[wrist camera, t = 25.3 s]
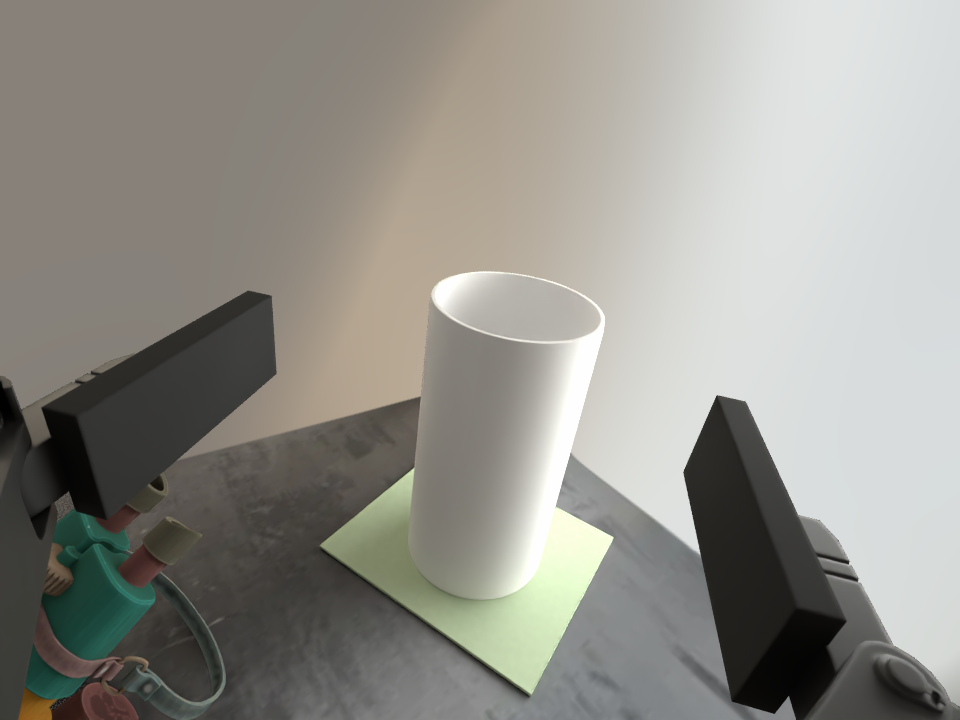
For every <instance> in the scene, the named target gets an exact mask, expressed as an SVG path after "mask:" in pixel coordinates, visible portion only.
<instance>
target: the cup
mask: <svg viewBox="0 0 960 720" xmlns="http://www.w3.org/2000/svg"><path fill="white" fill-rule="evenodd" d="M604 323H605V317H604V315H603V313H602V311H601V309H600V308H599V307H598V306H597V305H596V304H595V303H594V302H592V301H591V300H590V299H589V298H587V297H585V296H584V295H582V294H580V293H578V292H577V291H575V290H572V289H570V288H568V287H565V286H563V285H560V284H558V283H554V282H551V281H548V280H544V279H541V278H537V277H532V276H527V275H521V274H515V273H506V272H470V273H463V274H458V275H454V276H451V277H448V278H445V279H443V280H442V281H440V282H438V283H437V284H436V285H435V286H434V288H433V290H432V293H431V297H430V305H429V315H428V326H427V336H426V337H427V338H426V347H425V358H424V370H423V380H422V391H421V402H420V412H419V423H418V434H417V445H416V456H415V467H414V478H413V489H412V500H411V511H410V522H409V533H408V546H409V552H410V555H411V558H412V560H413V562H414V564H415V566H416V567H417V569H418V570H419V572H420V573H421V574H422V575H423V576H424V577H425V578H426V579H427V580H428V581H429V582H430V583H432V584H433V585H434V586H436V587H437V588H439V589H441V590H443V591H445V592H447V593H449V594H451V595H454V596H457V597H461V598H465V599H472V600H490V599H497V598H501V597H504V596H508V595H510V594H512V593H514V592H516V591H518V590H519V589H521V588H522V587H523V586H525V585H526V584H527V583H528V582H529V581H530V580H531V578H532V577H533V576H534V574H535V572H536V570H537V568H538V566H539V563H540V559H541V556H542V552H543V548H544V545H545V541H546V538H547V534H548V530H549V527H550V523H551V519H552V516H553V512H554V509H555V505H556V501H557V498H558V494H559V490H560V487H561V483H562V480H563V476H564V472H565V469H566V465H567V462H568V458H569V454H570V451H571V447H572V443H573V439H574V436H575V433H576V429H577V425H578V422H579V418H580V415H581V411H582V407H583V404H584V400H585V396H586V392H587V389H588V386H589V382H590V378H591V375H592V371H593V367H594V364H595V360H596V356H597V353H598V349H599V346H600V342H601V338H602V334H603V330H604Z"/></svg>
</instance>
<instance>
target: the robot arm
mask: <svg viewBox="0 0 960 720" xmlns="http://www.w3.org/2000/svg"><path fill="white" fill-rule="evenodd" d="M274 375H276V358H275V343H274V327H273V311H272V296H270V295H266V294H261V293H256V292H252V291H247V292H245V293H243V294H241V295H240V296H238V297H236V298H234V299H233V300H231V301H229V302H227V303H226V304H224V305H222V306H220V307H218V308H217V309H215V310H213V311H211V312H210V313H208V314H206V315H204V316H202V317H201V318H199V319H197V320H196V321H193V322H192V323H190V324H188V325H186V326H185V327H183V328H181V329H179V330H177V331H176V332H174V333H172V334H170V335H169V336H167V337H165V338H163V339H162V340H160V341H158V342H156V343H154V344H153V345H151V346H149V347H148V348H146V349H144V350H142V351H140V352H139V353H137V354H131V355H128V356H124V357H121V358H118V359H115V360H112V361H109V362H107V363H105V364H104V365H102V366H100V367H98V368H96V369H95V370H93V371H91V374H88V373H87V374H85V375H83V376H82V377H80V378H78V379H76V380H75V382H74V383H73V382H71V383H69V384H67V385H66V386H63V387H62V388H60V389H58V390H56V391H54V392H52V393H51V394H49V395H47V396H45V397H43V398H42V399H40V400H38V401H36V402H34V403H33V404H31V405H29V406H27V407H25V408H23V409H21V408H20V405H19V402H18V400H17V397H16V394H15V391H14V389H13V386H12V383H11V381H10V380H9V379H7V378H5V377H4V376H0V720H18V719H19V714H20V709H21V704H22V698H23V693H24V688H25V683H26V678H27V672H28V667H29V662H30V657H31V651H32V646H33V641H34V636H35V631H36V625H37V620H38V615H39V610H40V604H41V599H42V594H43V589H44V584H45V578H46V573H47V568H48V563H49V558H50V552H51V547H52V542H53V537H54V531H55V526H56V521H57V516H58V514H57V508H56V505H55V503H54V502H55V501H56V500H58V499H59V498H60V497H62V496H63V495H64V494H66V493H67V492H68V491H69V493H70V495H71V498H72V501H73V504H74V507H75V510H76V512H79V513H83V514H86V515H90V516H93V517H97V518H100V519H104V520H108V519H109V518H111V517H112V516H113V515H114V514H115V513H116V512H117V511H119V510H120V509H121V508H122V507H123V506H124V505H126V504H127V503H128V502H129V501H130V500H131V499H132V498H134V497H135V496H136V495H137V494H138V493H139V492H141V491H142V490H143V489H144V488H145V487H146V486H147V485H149V484H150V483H151V482H152V481H153V480H154V479H156V478H157V477H158V476H159V475H160V474H161V473H162V472H164V471H165V470H166V469H167V468H168V467H169V466H171V465H172V464H173V463H174V462H175V461H176V460H177V459H179V458H180V457H181V456H182V455H183V454H184V453H186V452H187V451H188V450H189V449H190V448H191V447H192V446H193V445H195V444H196V443H197V442H198V441H199V440H200V439H201V438H203V437H204V436H205V435H206V434H207V433H209V432H210V431H211V430H212V429H213V428H214V427H215V426H217V425H218V424H219V423H220V422H221V421H222V420H223V419H225V418H226V417H227V416H228V415H229V414H231V413H232V412H233V411H234V410H235V409H236V408H237V407H239V406H240V405H241V404H242V403H243V402H244V401H246V400H247V399H248V398H249V397H250V396H251V395H252V394H254V393H255V392H256V391H257V390H258V389H259V388H261V387H262V385H264V384H265V383H266V382H267V381H269V380H270V379H271V378H272V377H273V376H274ZM683 473H684V477H685V482H686V487H687V491H688V497H689V501H690V506H691V511H692V515H693V520H694V525H695V529H696V534H697V539H698V544H699V549H700V553H701V558H702V563H703V567H704V572H705V577H706V582H707V586H708V591H709V596H710V600H711V605H712V610H713V615H714V619H715V624H716V629H717V633H718V638H719V643H720V648H721V652H722V657H723V662H724V667H725V671H726V676H727V681H728V685H729V690H730V695H731V700H732V702H735V703H739V704H742V705H746V706H749V707H753V708H756V709H760V710H763V711H766V712H770V713H773V714H775V713H776V711H777V710H778V709H779V708H780V706H781V705H782V704H783V702H784V701H785V700H786V699H787V697H788V696H789V698H790V701H791V704H792V707H793V711H794V714H795V717H796V720H960V707H959V706H957V705H956V704H954V703H952V702H951V701H950V699H949V697H948V695H947V693H946V690H945V689H944V687H943V686H942V685H941V684H940V682H939V681H938V680H937V679H936V677H934V675H933V674H932V673H931V672H930V671H929V670H928V669H927V668H925V667H924V666H923V665H922V664H921V663H920V662H919V661H918V660H916V659H915V658H914V657H912V656H911V655H909V654H907V653H906V652H904V651H902V650H901V649H899V648H897V647H895V646H894V645H893V643H892V641H891V640H890V638H889V636H888V634H887V632H886V630H885V628H884V626H883V624H882V622H881V620H880V619H879V617H878V615H877V613H876V611H875V609H874V607H873V605H872V603H871V601H870V600H869V598H868V596H867V594H866V592H865V590H864V588H863V586H862V584H861V583H858V577H857V575H856V573H855V571H854V569H853V567H852V566H851V565H849V560H848V558H847V556H846V554H845V552H844V550H843V549H842V546H841V544H840V543H839V540H838V539H837V538H836V537H835V536H834V535H833V534H832V533H831V532H830V531H829V530H828V529H827V528H826V527H825V526H824V525H823V524H822V523H821V522H820V520H816V519H812V518H808V517H804V516H800V515H798V514H797V512H796V510H795V507H794V505H793V503H792V501H791V499H790V497H789V494H788V492H787V490H786V488H785V486H784V483H783V481H782V479H781V477H780V475H779V473H778V470H777V468H776V466H775V464H774V462H773V460H772V457H771V455H770V453H769V451H768V449H767V447H766V444H765V442H764V440H763V438H762V436H761V434H760V432H759V429H758V427H757V425H756V423H755V421H754V418H753V416H752V414H751V412H750V410H749V408H748V406H747V403H746V402H745V401H741V400H736V399H731V398H727V397H722V396H718V395H717V396H716V398H715V401H714V403H713V405H712V407H711V410H710V412H709V414H708V417H707V419H706V421H705V423H704V426H703V428H702V430H701V433H700V435H699V437H698V439H697V442H696V444H695V446H694V449H693V451H692V453H691V456H690V458H689V460H688V463H687V465H686V467H685V469H684V472H683Z"/></svg>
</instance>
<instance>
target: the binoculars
mask: <svg viewBox="0 0 960 720" xmlns="http://www.w3.org/2000/svg"><path fill="white" fill-rule="evenodd" d="M167 494H168V484H167V480H166V477H165V475H164V473H163V472H162V473H161V474H160V475H159V476H158V477H157V478H156V479H154V480H153V481H152V482H151V483H150V484H149V485H147V486H146V487H145V488H144V489H143V490H142V491H141V492H139V493H138V494H137V495H136V496H135V497H134V498H132V499H131V500H130V501H129V502H128V503H127V504H126V505H124V506H123V507H122V508H121V509H120V510H119V511H117V512H116V513H115V514H114V515H113V516H112V517H111V518H109V519H108V520H104V519H100V518H97V517H93V516H90V515H86V514H83V513H79V512H76V510H75V508H74V509H73V510H72V511H70V512H69V513H68V514H67V515H66V516H64V517H63V518H62V519H61V520H59V521H58V522H57V523H56V526H55V531H54V537H53V542H52V547H51V552H50V558H49V563H48V568H47V573H46V578H45V584H44V589H43V594H42V599H41V604H40V610H39V615H38V620H37V625H36V631H35V636H34V641H33V646H32V651H31V657H30V662H29V667H28V672H27V678H26V683H25V688H24V693H23V698H22V704H21V709H20V714H19V719H18V720H139V719H138V716H137V713H136V711H135V709H134V708H133V706H132V704H131V703H130V702H129V701H128V699H127V698H126V697H125V696H124V695H123V694H122V693H123V692H124V691H125V690H126V691H129V692H136V693H137V694H139V695H140V696H141V698H142V699H143V700H144V701H146V700H148V701H149V702H150V703H151V704H152V705H153V706H155V707H156V708H157V709H158V710H160V711H161V712H162V713H164V714H165V715H167V716H169V717H171V718H174V719H176V720H191V719H194V718H197V717H198V716H200V715H201V714H202V713H204V712H205V711H206V710H207V709H208V708H209V707H210V705H211V704H212V703H213V702H214V701H215V700H216V699H217V698H218V697H219V695H220V694H221V693H222V691H223V689H224V686H225V684H226V672H225V667H224V663H223V660H222V657H221V654H220V651H219V648H218V646H217V643H216V641H215V639H214V637H213V635H212V633H211V631H210V629H209V628H208V626H207V624H206V623H205V621H204V620H203V618H202V617H201V615H200V614H199V612H198V611H197V610H196V608H195V607H194V606H193V604H192V603H191V602H190V600H189V599H188V598H187V597H186V596H185V594H184V593H183V592H182V591H181V590H180V589H179V588H178V587H177V586H176V585H175V584H174V583H173V582H172V581H171V580H170V579H169V578H168V577H167V576H165V575H164V574H163V573H162V572H161V570H162V569H163V568H164V567H165V566H167V565H168V564H169V565H173V564H175V563H176V562H177V561H178V560H179V559H180V558H181V557H182V556H183V555H184V554H185V553H186V552H187V551H188V550H189V549H190V548H191V547H192V546H193V545H194V544H195V543H197V542H198V541H199V540H200V539H201V538H202V537H203V535H202V534H200V533H199V532H196V531H194V530H191V529H188V528H187V527H186V526H185V525H183V524H182V523H181V522H179V521H178V520H176V519H174V518H172V517H165V518H164V519H163V520H162V521H161V522H160V523H159V524H158V525H157V526H156V527H155V528H154V529H153V530H151V531H150V532H149V533H148V534H147V535H146V536H145V537H144V538H143V543H144V544H143V545H142V546H141V547H139V548H138V549H137V550H136V551H135V552H134V553H133V552H131V551H129V550H128V549H129V547H130V542H129V539H128V537H127V535H126V532H125V530H124V528H125V527H126V526H127V525H128V524H129V523H131V522H132V521H133V520H134V519H135V518H136V517H137V516H138V515H139V514H140V513H147V512H149V511H150V510H151V509H152V508H153V507H154V506H155V505H156V504H157V503H158V502H159V501H161V500H162V499H163V498H164V497H165V496H166V495H167ZM152 586H154V587H155V588H156V589H157V590H158V591H160V592H161V593H162V594H163V595H164V596H165V597H166V598H167V600H168V601H169V602H170V603H171V604H172V605H173V606H174V608H175V609H176V610H177V611H178V613H179V614H180V615H181V617H182V618H183V620H184V621H185V622H186V624H187V625H188V627H189V628H190V630H191V631H192V633H193V635H194V637H195V638H196V640H197V642H198V644H199V646H200V648H201V650H202V652H203V655H204V658H205V660H206V663H207V667H208V670H209V675H210V679H211V695H210V697H209V699H208V700H205V701H202V702H191V701H188V700H186V699H184V698H182V697H180V696H179V695H177V694H176V693H175V692H173V691H172V690H171V689H170V688H169V687H167V686H166V685H165V684H164V682H163V681H162V680H161V679H160V678H159V677H158V676H157V675H156V674H155V673H153V672H152V671H151V670H150V669H148V668H147V667H148V661H146V660H145V659H144V658H141V657H137V656H127V657H124V658H122V659H121V658H118V657H110V658H106V657H107V655H108V654H109V653H110V652H111V651H112V650H113V649H114V648H115V646H116V645H117V644H118V643H119V642H120V641H121V640H122V639H123V637H124V636H125V635H126V634H127V633H128V632H129V631H130V630H131V628H132V627H133V626H134V625H135V624H136V623H137V622H138V621H139V619H140V618H141V617H142V616H143V615H144V614H145V613H146V612H147V610H148V609H149V608H150V607H151V606H152V605H153V604H154V602H155V599H156V597H155V591H154V589H153V587H152ZM125 661H136V662H140V663H142V664H143V666H142V665H137V666H136V667H135V668H134V669H133V670H132V671H131V672H130V673H129V674H128V675H127V676H126V677H125V678H124V679H123V680H122V681H121V685H122V688H121V689H120V690H119V691H118V690H116V689H115V688H113V687H111V686H109V685H108V684H107V683H106V680H107V681H111V680H112V679H113V677H114V676H115V675H116V674H117V673H118V672H119V671H120V670H121V669H122V668H123V667H124V665H125V664H124V662H125ZM91 675H92V678H93V679H94V678H98V677H102V679H101V681H100V683H91V684H88V685H87V686H86V687H84V688H83V689H81V690H80V691H79V692H77V693H76V694H75V695H73V696H72V697H71V698H69V699H68V700H66V701H65V702H64V703H62V704H61V705H60V706H58V707H57V708H55V709H54V710H53V711H51V709H50V706H51V705H52V704H53V703H54V702H55V701H56V700H57V699H60V698H64V697H68V696H71V695H72V694H74V693H75V692H76V690H77V689H78V688H79V687H80V686H81V685H82V684H83V683H84V681H85V680H86V679H87V678H88V677H89V676H91Z"/></svg>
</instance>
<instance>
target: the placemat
mask: <svg viewBox="0 0 960 720" xmlns="http://www.w3.org/2000/svg"><path fill="white" fill-rule="evenodd" d="M413 478H414V468H413V469H412V470H411V471H410V472H408V473H407V474H406V475H405V476H404V477H402V478H401V479H400V480H399V481H397V482H396V483H395V484H394V485H393V486H391V487H390V488H389V489H388V490H387V491H385V492H384V493H383V494H382V495H380V496H379V497H378V498H377V499H376V500H374V501H373V502H372V503H371V504H369V505H368V506H367V507H366V508H365V509H363V510H362V511H361V512H360V513H358V514H357V515H356V516H355V517H354V518H352V519H351V520H350V521H349V522H348V523H346V524H345V525H344V526H343V527H341V528H340V529H339V530H338V531H337V532H335V533H334V534H333V535H332V536H330V537H329V538H328V539H327V540H326V541H324V542H323V543H322V544H321V545H320V548H321V549H323V550H324V551H325V552H327V553H328V554H330V555H331V556H332V557H334V558H335V559H337V560H338V561H339V562H341V563H342V564H344V565H345V566H347V567H348V568H349V569H351V570H352V571H354V572H355V573H356V574H358V575H359V576H361V577H362V578H364V579H365V580H366V581H368V582H369V583H371V584H372V585H373V586H375V587H376V588H378V589H379V590H380V591H382V592H383V593H385V594H386V595H388V596H389V597H390V598H392V599H393V600H395V601H396V602H397V603H399V604H400V605H402V606H403V607H405V608H406V609H407V610H409V611H410V612H412V613H413V614H414V615H416V616H417V617H419V618H420V619H422V620H423V621H424V622H426V623H427V624H429V625H430V626H431V627H433V628H434V629H436V630H437V631H438V632H440V633H441V634H443V635H444V636H446V637H447V638H448V639H450V640H451V641H453V642H454V643H455V644H457V645H458V646H460V647H461V648H463V649H464V650H465V651H467V652H468V653H470V654H471V655H472V656H474V657H475V658H477V659H478V660H479V661H481V662H482V663H484V664H485V665H487V666H488V667H489V668H491V669H492V670H494V671H495V672H496V673H498V674H499V675H501V676H502V677H504V678H505V679H506V680H508V681H509V682H511V683H512V684H513V685H515V686H516V687H518V688H519V689H520V690H522V691H523V692H525V693H526V694H528V695H529V696H531V695H532V693H533V691H534V689H535V687H536V685H537V683H538V682H539V680H540V678H541V676H542V674H543V672H544V670H545V668H546V666H547V664H548V662H549V661H550V659H551V657H552V655H553V653H554V651H555V649H556V647H557V645H558V643H559V641H560V639H561V638H562V636H563V634H564V632H565V630H566V628H567V626H568V624H569V622H570V620H571V618H572V617H573V615H574V613H575V611H576V609H577V607H578V605H579V603H580V601H581V599H582V597H583V596H584V594H585V592H586V590H587V588H588V586H589V584H590V582H591V580H592V578H593V576H594V575H595V573H596V571H597V569H598V567H599V565H600V563H601V561H602V559H603V557H604V555H605V554H606V552H607V550H608V548H609V546H610V544H611V542H612V540H613V537H612V536H610V535H608V534H606V533H604V532H602V531H600V530H598V529H597V528H595V527H593V526H591V525H589V524H587V523H585V522H583V521H581V520H579V519H577V518H576V517H574V516H572V515H570V514H568V513H566V512H564V511H562V510H560V509H558V508H556V507H555V509H554V512H553V516H552V519H551V523H550V527H549V530H548V534H547V538H546V541H545V545H544V548H543V552H542V556H541V559H540V563H539V566H538V568H537V570H536V572H535V574H534V576H533V577H532V578H531V580H530V581H529V582H528V583H527V584H526V585H525V586H523V587H522V588H521V589H519V590H518V591H516V592H514V593H512V594H510V595H508V596H504V597H501V598H497V599H490V600H472V599H465V598H461V597H457V596H454V595H451V594H449V593H447V592H445V591H443V590H441V589H439V588H437V587H436V586H434V585H433V584H432V583H430V582H429V581H428V580H427V579H426V578H425V577H424V576H423V575H422V574H421V573H420V572H419V570H418V569H417V567H416V566H415V564H414V562H413V560H412V558H411V555H410V552H409V546H408V533H409V522H410V511H411V500H412V489H413Z"/></svg>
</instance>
